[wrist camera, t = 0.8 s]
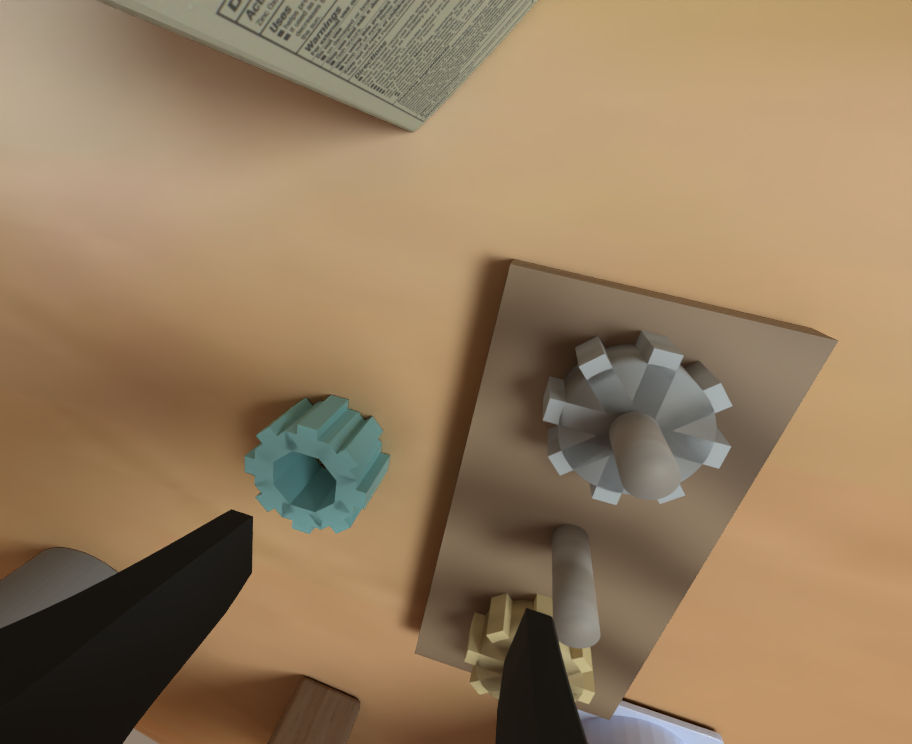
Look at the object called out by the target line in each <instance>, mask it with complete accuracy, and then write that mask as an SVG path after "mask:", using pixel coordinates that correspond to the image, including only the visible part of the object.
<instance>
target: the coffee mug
mask: <svg viewBox="0 0 912 744" xmlns="http://www.w3.org/2000/svg"><path fill="white" fill-rule="evenodd" d="M116 573H118V572H117V571H115V570H114V569H113V568H111V567H110V566H108V565H107V564H105V563H104V562H102V561H101V560H99V559H97V558H95V557H93V556H91V555H88V554H86V553H84V552H81V551H77V550H74V549H69V548H50V549H47V550H45V551H43V552H41V553H40V554H38V555H37V556H35V557H34V558H32V559H31V560H29V561H28V562H26V563H25V564H24V565H22V566H21V567H19V568H18V569H16V570H15V571H13V572H12V573H10V574H9V575H8V576H6V577H5V578H3V579H2V580H0V628H2V627H5V626H7V625H9V624H12V623H14V622H16V621H19V620H21V619H23V618H25V617H28V616H30V615H32V614H34V613H36V612H39V611H41V610H43V609H45V608H47V607H50V606H52V605H54V604H56V603H58V602H60V601H62V600H65V599H67V598H69V597H71V596H73V595H75V594H77V593H79V592H81V591H83V590H85V589H87V588H89V587H91V586H93V585H95V584H97V583H99V582H101V581H103V580H105V579H107V578H109V577H110V576H112V575H114V574H116Z"/></svg>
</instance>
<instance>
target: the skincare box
mask: <svg viewBox="0 0 912 744" xmlns="http://www.w3.org/2000/svg"><path fill="white" fill-rule="evenodd" d="M97 1H99V2H101V3H104V4H106V5H108V6H111V7H113V8H115V9H118V10H120V11H123V12H125V13H128V14H130V15H132V16H135V17H137V18H140V19H142V20H145V21H147V22H149V23H152V24H154V25H157V26H159V27H162V28H164V29H167V30H169V31H171V32H174V33H176V34H178V35H180V36H183V37H185V38H187V39H190V40H193V41H195V42H198V43H200V44H202V45H205V46H207V47H209V48H212V49H214V50H217V51H219V52H221V53H224V54H226V55H229V56H231V57H233V58H236V59H238V60H240V61H243V62H245V63H248V64H250V65H252V66H255V67H257V68H259V69H262V70H264V71H267V72H269V73H271V74H274V75H276V76H279V77H281V78H283V79H286V80H288V81H291V82H293V83H295V84H298V85H300V86H303V87H305V88H307V89H310V90H312V91H314V92H316V93H319V94H321V95H324V96H326V97H329V98H331V99H333V100H336V101H338V102H341V103H343V104H346V105H348V106H351V107H353V108H355V109H357V110H360V111H362V112H364V113H367V114H369V115H372V116H374V117H376V118H378V119H381V120H384V121H386V122H389V123H391V124H393V125H395V126H397V127H400V128H402V129H405V130H407V131H410V132H414V131H416V130H417V129H419V128H420V127H421V126H422V125H423V124H424V122H425V121H426V120H427V119H429V118H430V117H431V116H432V115H433V114H434V113H435V112H436V111H437V110H438V109H439V107H440V106H441V105H442V104H443V103H444V102H445V101H446V100H447V99H448V98H449V97H450V96H451V95H452V94H453V93H454V92H455V91H456V90H457V89H458V88H459V87H460V86H461V85H462V84H463V83H464V82H465V81H466V79H467V78H468V77H469V76H470V75H471V74H472V73H473V72H474V71H475V70H476V69H477V68H478V66H479V65H480V64H481V63H482V62H483V61H484V60H485V59H486V58H487V57H488V56H489V55H490V54H491V52H492V51H493V50H494V49H495V48H496V47H497V46H498V45H499V44H500V43H501V41H502V40H503V39H504V38H505V37H506V36H507V35H508V34H509V33H510V31H511V30H512V29H513V28H514V27H515V26H516V25H517V24H518V22H519V21H520V20H521V19H522V18H523V17H524V16H525V14H526V13H527V12H528V11H529V10H530V9H531V8H532V6H533V5H534V4H535V3H536V2H537V1H538V0H97Z"/></svg>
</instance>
